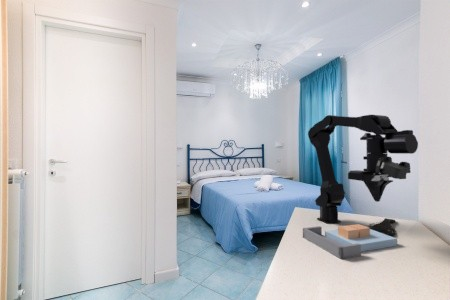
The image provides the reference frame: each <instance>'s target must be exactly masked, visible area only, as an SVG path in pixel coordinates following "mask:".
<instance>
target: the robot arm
mask: <svg viewBox="0 0 450 300" xmlns="http://www.w3.org/2000/svg"><path fill="white" fill-rule="evenodd" d="M337 126H339V127H340V126H341V127H347V128H355V129H358V130H360V131H363V132H365V133H364V134H363V135H362V136H361V137H360V138H359V139H360V141H366V155H365V156H363V158H362V159H363V160H366V168H363V170H359V169H358V170H356V169H355V170H349V171H348V173H347V180H353V181H359V182H363V183H364V185H365V186H366V187H367V189H368V191H369V193H370V195H371V196H372V198H373V201H374V202H376V203H378V202H380V201H381V199H382V196H383V194H384V191H385V189H386V188H387V185H389V184H391V183H393V182H394V180H391V179H390V178H393V179H396V180H406V179H407V174H410V173H411V164H410V163H409V162H407V161H400V162H393V157H392V156H389V155H388V153H389V154H396V155H398V154H399V155H401V154H403V155H406V154H409V155H410V154H411V155H412V154H415V153H416V152H417V150H418V147H419V141H418V139H417V137H416V136H415V134H414V131H413V129H406V130H405V129H404V130H397V128H396V127H395V126H394V125H393V124H392V122H391V119H390V118H389V116H387V115H380V114H366V115H365V114H364V115H360V116H342V115H341V116H339V115H334V114H332V115H331V114H328V115H326V116H324V118H323V119H321V120H320V121H318V122H316V123H314V125H313V126H312V127H310V129H309V130H308V131H307V136H308V139H309V142H310V144H311V145H312V146H313V147H314V148H315V153H316V156H317V162H318V165H319V171H320V176H321V185H320V188H319V193H320V194H319V196H317V198H316V199H315V200H314V201H315V206H318V207H319V217H317V218H316V220H318V221H321V222H323V223H325V224H334V223H336V224H337V223H341V221H342V220H340V219H339V211H338V207H341V206H342V203H343V201H344V199H345V195H346V192H345V189H344V185H343V183H339V182H338V181H337V179H336V176H335V171H334V167H333V163H332V157H331V154H330V150H329V144H330V142H331V135H332V134H333V133H334V132H335V129H336V127H337ZM371 133H373V134H371Z"/></svg>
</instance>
